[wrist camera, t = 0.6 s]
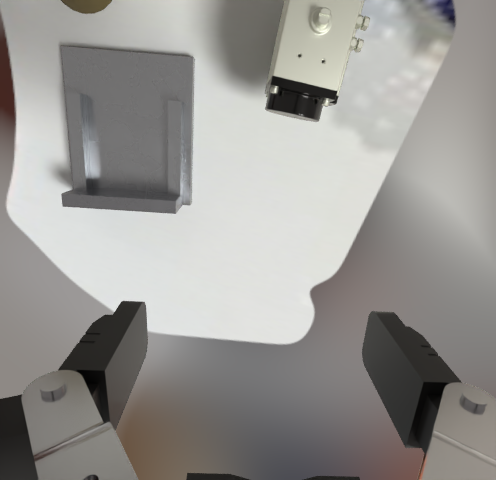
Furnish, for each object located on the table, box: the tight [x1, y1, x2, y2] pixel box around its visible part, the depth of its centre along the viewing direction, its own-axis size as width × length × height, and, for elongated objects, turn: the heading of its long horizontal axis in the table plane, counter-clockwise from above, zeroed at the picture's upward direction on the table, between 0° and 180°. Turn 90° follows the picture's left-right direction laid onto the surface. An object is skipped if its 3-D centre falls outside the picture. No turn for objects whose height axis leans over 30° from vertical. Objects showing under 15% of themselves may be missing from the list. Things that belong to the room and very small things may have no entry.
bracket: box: [61, 46, 195, 214], centre depth 32 cm, size 14×12×5 cm
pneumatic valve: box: [265, 0, 370, 122], centre depth 27 cm, size 6×12×12 cm, turn 168°
